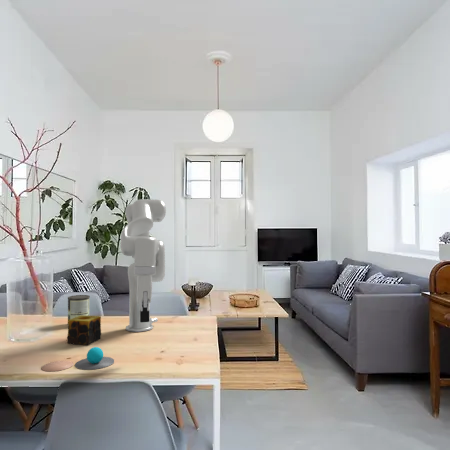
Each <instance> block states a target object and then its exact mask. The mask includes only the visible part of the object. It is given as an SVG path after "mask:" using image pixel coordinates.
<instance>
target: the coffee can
mask: <svg viewBox="0 0 450 450" xmlns="http://www.w3.org/2000/svg"><path fill="white" fill-rule="evenodd" d="M81 315H85V316H90V295H87V294H77V295H71V296H67V321H68V320H70V319H73V318H75V317H78V316H81Z"/></svg>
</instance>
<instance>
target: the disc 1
mask: <svg viewBox="0 0 450 450" xmlns="http://www.w3.org/2000/svg"><path fill="white" fill-rule="evenodd" d="M73 366H75V364H74V361H71V360H56V361H55V360H54V361H50V362H48V363H45V364H44V365H42V366H41V370H42V371H43V372H59V371H65V370H68V369H71V368H72V367H73Z"/></svg>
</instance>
